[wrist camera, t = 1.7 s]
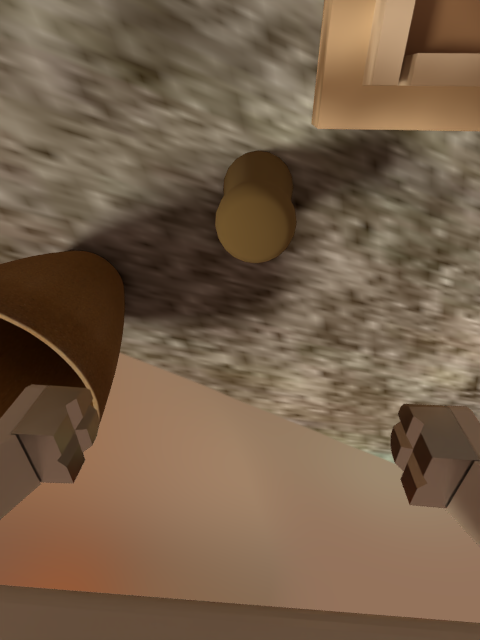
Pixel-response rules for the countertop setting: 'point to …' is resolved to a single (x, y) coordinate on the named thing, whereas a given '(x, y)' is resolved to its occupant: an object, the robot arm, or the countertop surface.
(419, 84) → the display stand
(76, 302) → the plant pot
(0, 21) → the countertop surface
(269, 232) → the cork
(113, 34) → the countertop surface
